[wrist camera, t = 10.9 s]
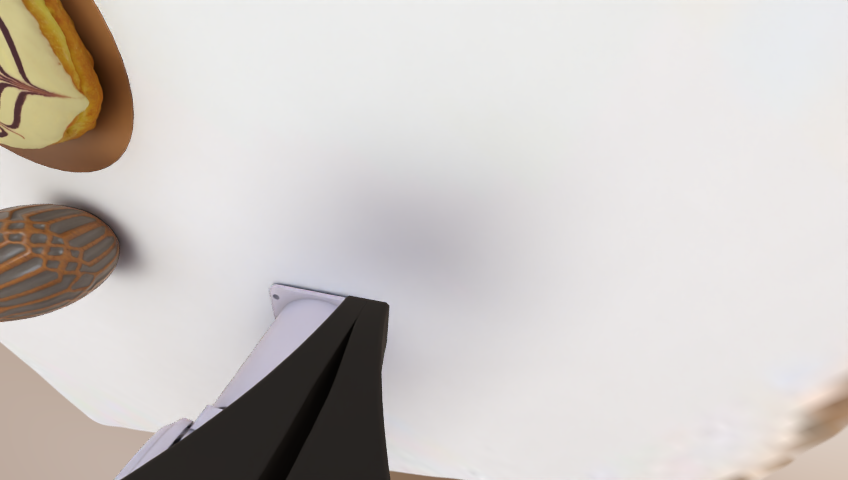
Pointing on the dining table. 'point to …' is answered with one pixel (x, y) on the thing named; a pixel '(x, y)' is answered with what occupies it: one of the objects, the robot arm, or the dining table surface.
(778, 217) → the dining table surface
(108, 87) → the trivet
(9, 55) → the decorated donut
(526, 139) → the dining table surface
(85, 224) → the vase
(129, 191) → the dining table surface
